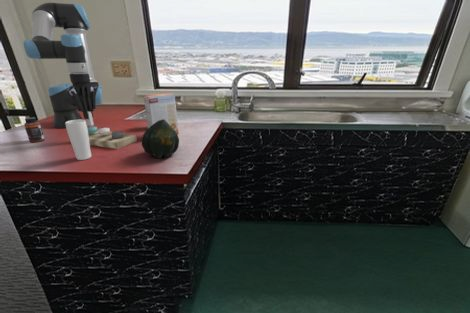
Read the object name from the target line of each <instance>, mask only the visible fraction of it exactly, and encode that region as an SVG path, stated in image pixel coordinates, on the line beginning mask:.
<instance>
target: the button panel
mask: <svg viewBox="0 0 470 313" xmlns="http://www.w3.org/2000/svg"><path fill="white" fill-rule="evenodd" d="M112 132H113V131H110V134H106V135H99V133H98V131H97V132H95V133H88V135H89V143H90V146H94V147H95V146H97V147H103V148H107V149H108V148H109V149H114V150H119V149H121V148H124V147H126V146H129V145H131V144H134V143H136V142H137V141H138V140H137V135H136V134H130V133H123V134H124V137H122V138H112V134H111V133H112Z"/></svg>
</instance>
